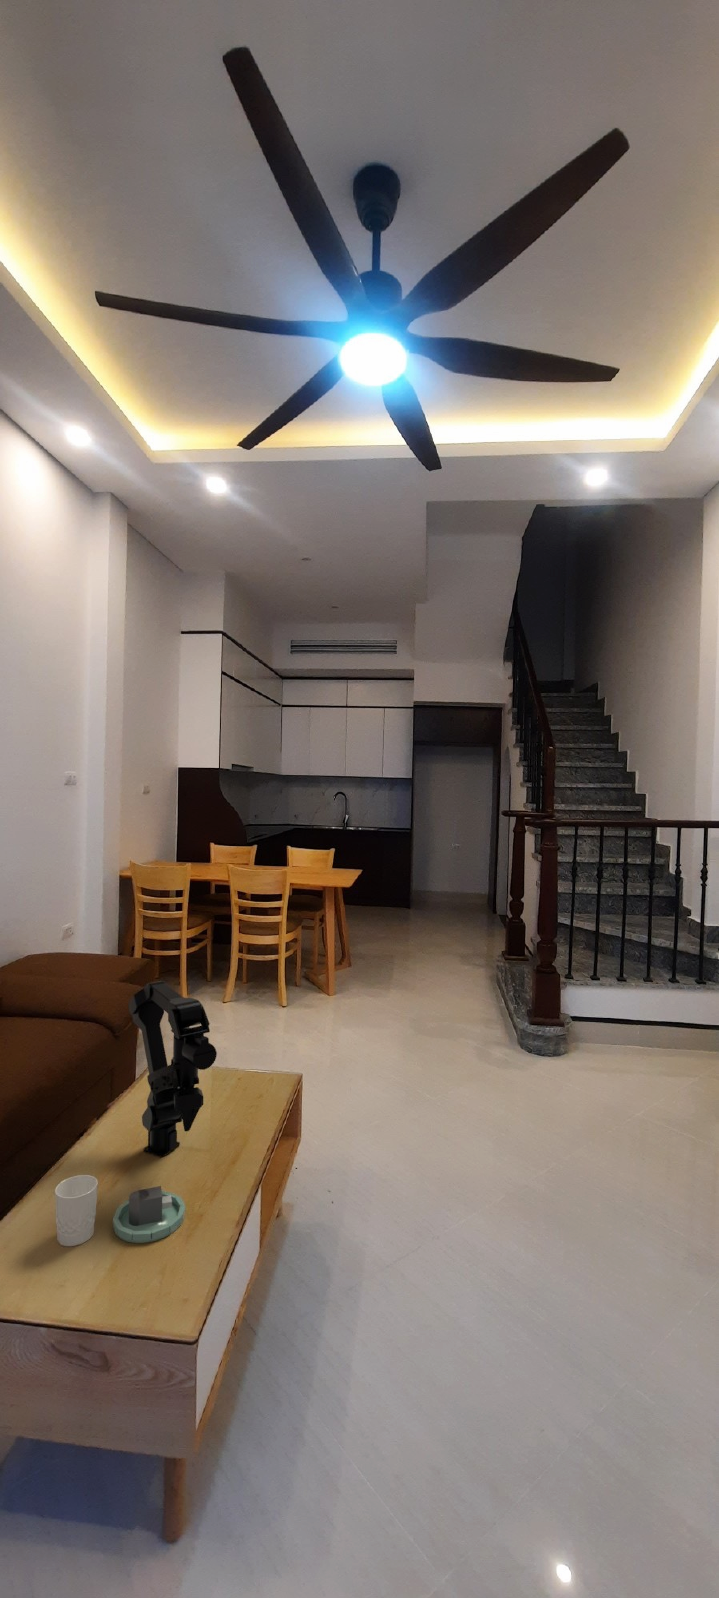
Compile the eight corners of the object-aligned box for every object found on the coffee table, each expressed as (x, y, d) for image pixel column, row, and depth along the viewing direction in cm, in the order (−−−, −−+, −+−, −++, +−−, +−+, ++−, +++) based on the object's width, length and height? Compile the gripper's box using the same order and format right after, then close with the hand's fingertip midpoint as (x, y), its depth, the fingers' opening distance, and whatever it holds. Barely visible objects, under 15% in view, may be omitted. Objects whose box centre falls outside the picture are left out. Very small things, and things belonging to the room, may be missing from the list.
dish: (98, 1230, 132) (98, 1222, 132) (147, 1193, 145) (147, 1185, 145) (152, 1251, 126) (152, 1242, 126) (198, 1210, 139) (198, 1202, 139)
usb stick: (128, 1227, 132) (129, 1203, 132) (128, 1215, 136) (128, 1191, 136) (171, 1218, 135) (172, 1194, 135) (170, 1207, 139) (170, 1184, 139)
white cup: (105, 1228, 133) (106, 1179, 133) (77, 1253, 126) (77, 1201, 126) (74, 1219, 136) (75, 1171, 136) (45, 1243, 128) (45, 1193, 128)
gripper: (148, 1045, 159) (147, 1109, 159) (152, 1076, 142) (151, 1147, 142) (194, 1040, 163) (193, 1102, 163) (204, 1069, 146) (203, 1138, 146)
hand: (184, 1121), depth 153 cm, fingers open, 9 cm apart
